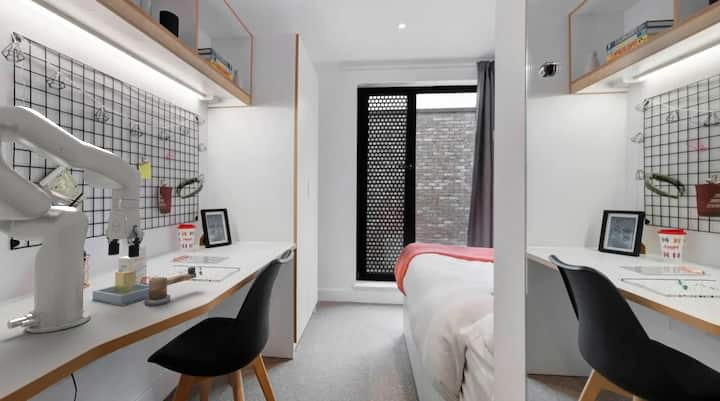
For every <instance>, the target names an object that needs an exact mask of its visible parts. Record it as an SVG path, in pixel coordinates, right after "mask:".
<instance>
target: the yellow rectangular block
mask: <svg viewBox="0 0 720 401" xmlns="http://www.w3.org/2000/svg"><path fill="white" fill-rule="evenodd" d="M114 276H115V278H114V286H115V294H118V295H125V294H128V293H132V292H135V287H136V271H131V270H125V271H120V272H118V271H116V272H115V273H114Z"/></svg>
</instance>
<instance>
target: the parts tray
mask: <svg viewBox="0 0 720 401" xmlns="http://www.w3.org/2000/svg"><path fill="white" fill-rule="evenodd" d="M147 297H149V284H137V283H136V287H135V292H132V293H128V294H125V295H118V294H115V285H113V286H108V287H103V288H99V289H96V290H93V291H92V301H95V302H99V303H100V302H101V303H105V304H109V305H114V306H120V307H122V306H124V305H128V304H131V303H134V302H135V303H136V302H137V301H141V300H145V298H147Z"/></svg>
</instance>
